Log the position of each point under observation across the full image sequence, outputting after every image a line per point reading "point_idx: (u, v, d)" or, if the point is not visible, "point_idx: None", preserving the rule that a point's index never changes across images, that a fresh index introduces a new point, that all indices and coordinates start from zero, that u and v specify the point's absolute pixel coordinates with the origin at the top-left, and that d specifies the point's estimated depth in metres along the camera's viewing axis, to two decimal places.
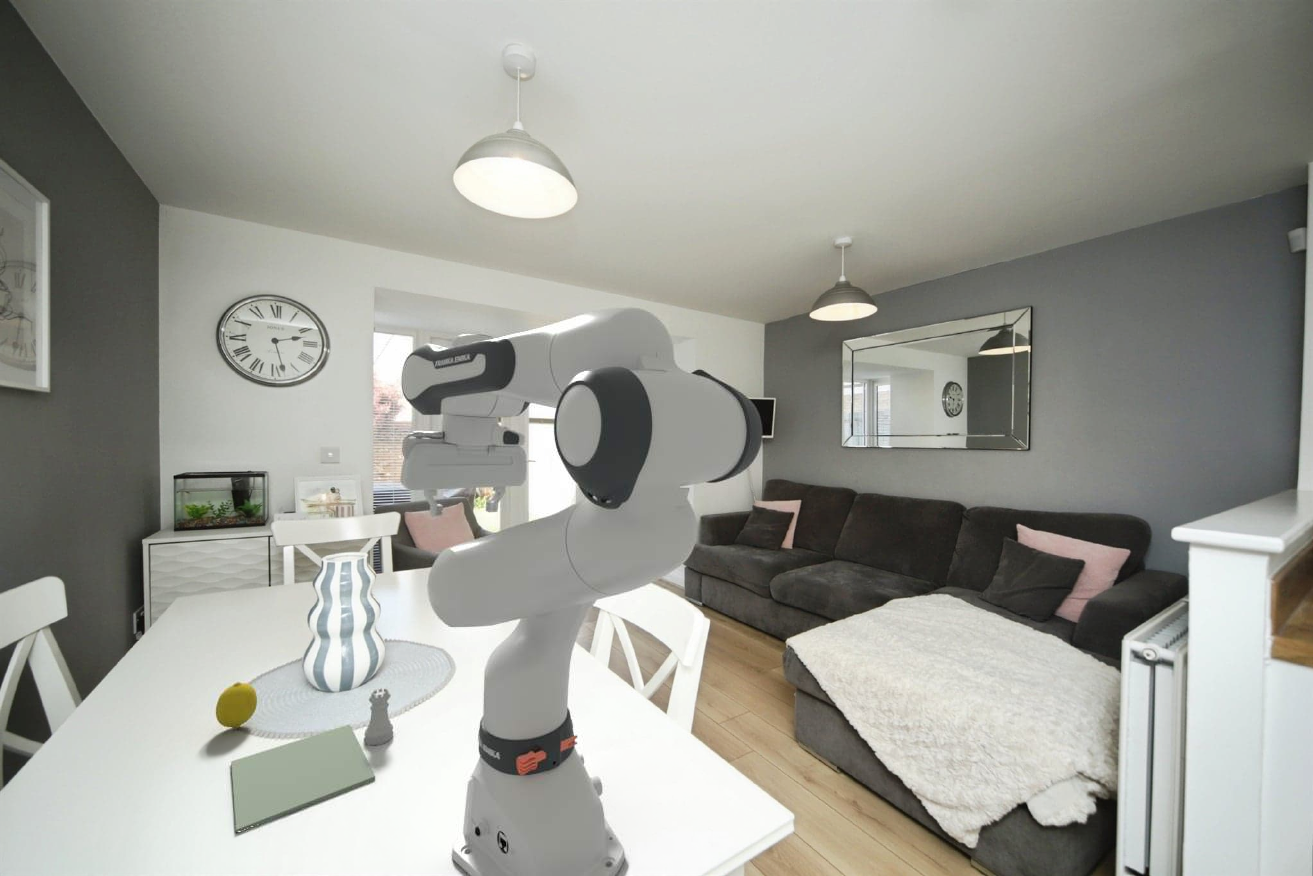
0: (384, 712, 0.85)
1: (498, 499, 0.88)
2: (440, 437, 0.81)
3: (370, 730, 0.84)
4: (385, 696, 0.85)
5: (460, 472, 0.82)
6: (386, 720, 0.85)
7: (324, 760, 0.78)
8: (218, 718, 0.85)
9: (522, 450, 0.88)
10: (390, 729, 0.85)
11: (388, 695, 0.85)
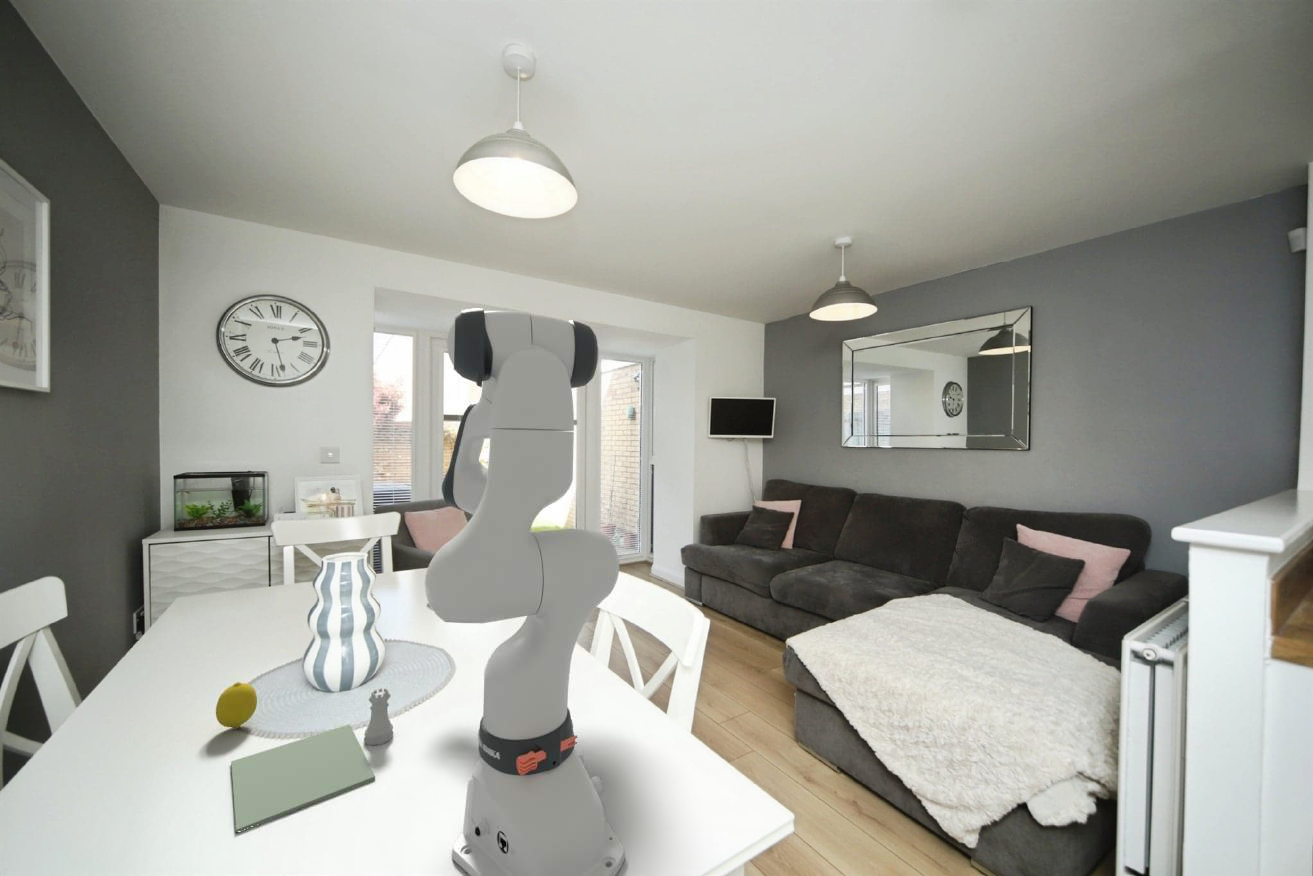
0: (384, 712, 0.85)
1: None
2: None
3: (370, 730, 0.84)
4: (385, 696, 0.85)
5: None
6: (386, 720, 0.85)
7: (324, 760, 0.78)
8: (218, 718, 0.85)
9: None
10: (390, 729, 0.85)
11: (388, 695, 0.85)
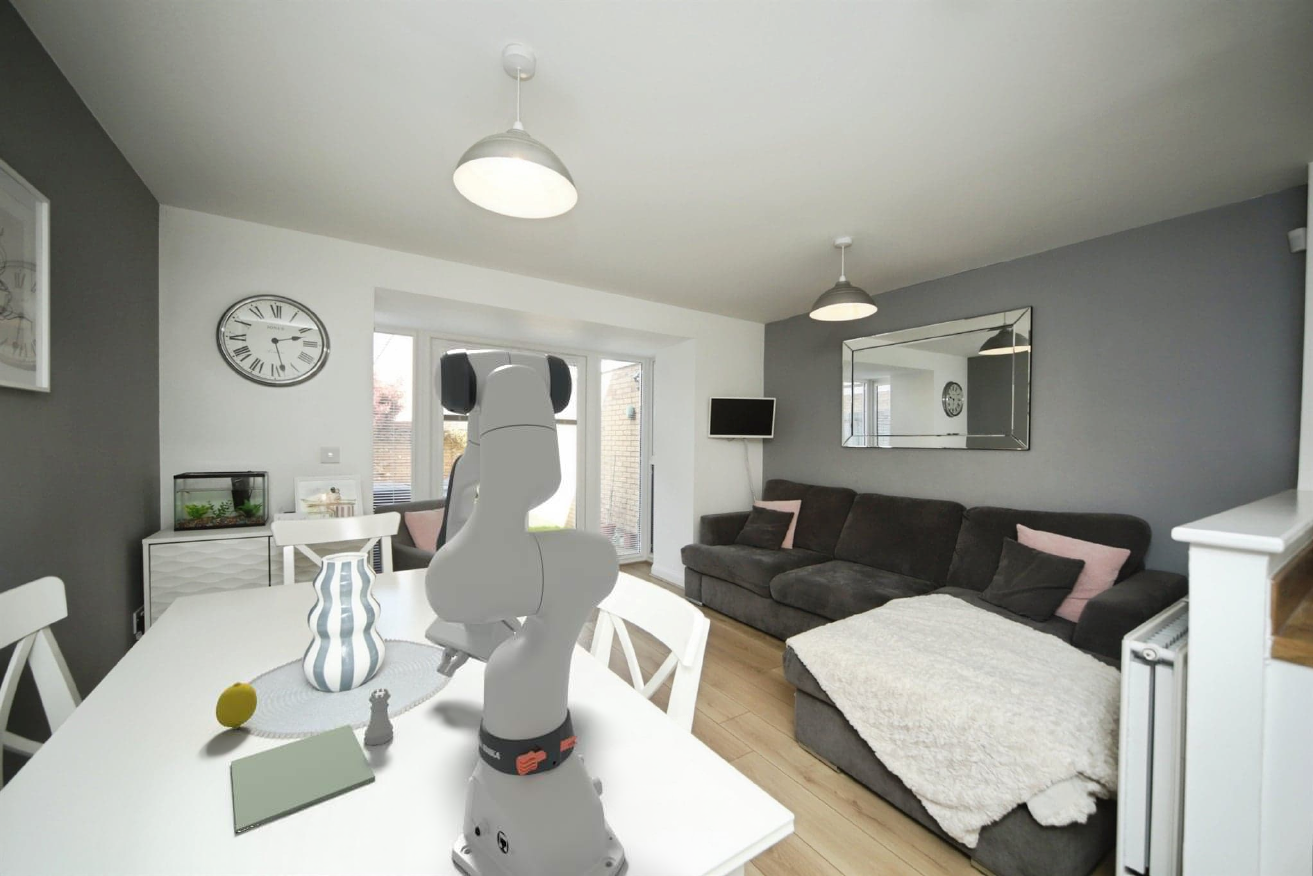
0: (384, 712, 0.85)
1: (452, 662, 0.96)
2: None
3: (370, 730, 0.84)
4: (385, 696, 0.85)
5: (455, 632, 1.00)
6: (386, 720, 0.85)
7: (324, 760, 0.78)
8: (218, 718, 0.85)
9: (500, 623, 0.97)
10: (390, 729, 0.85)
11: (388, 695, 0.85)
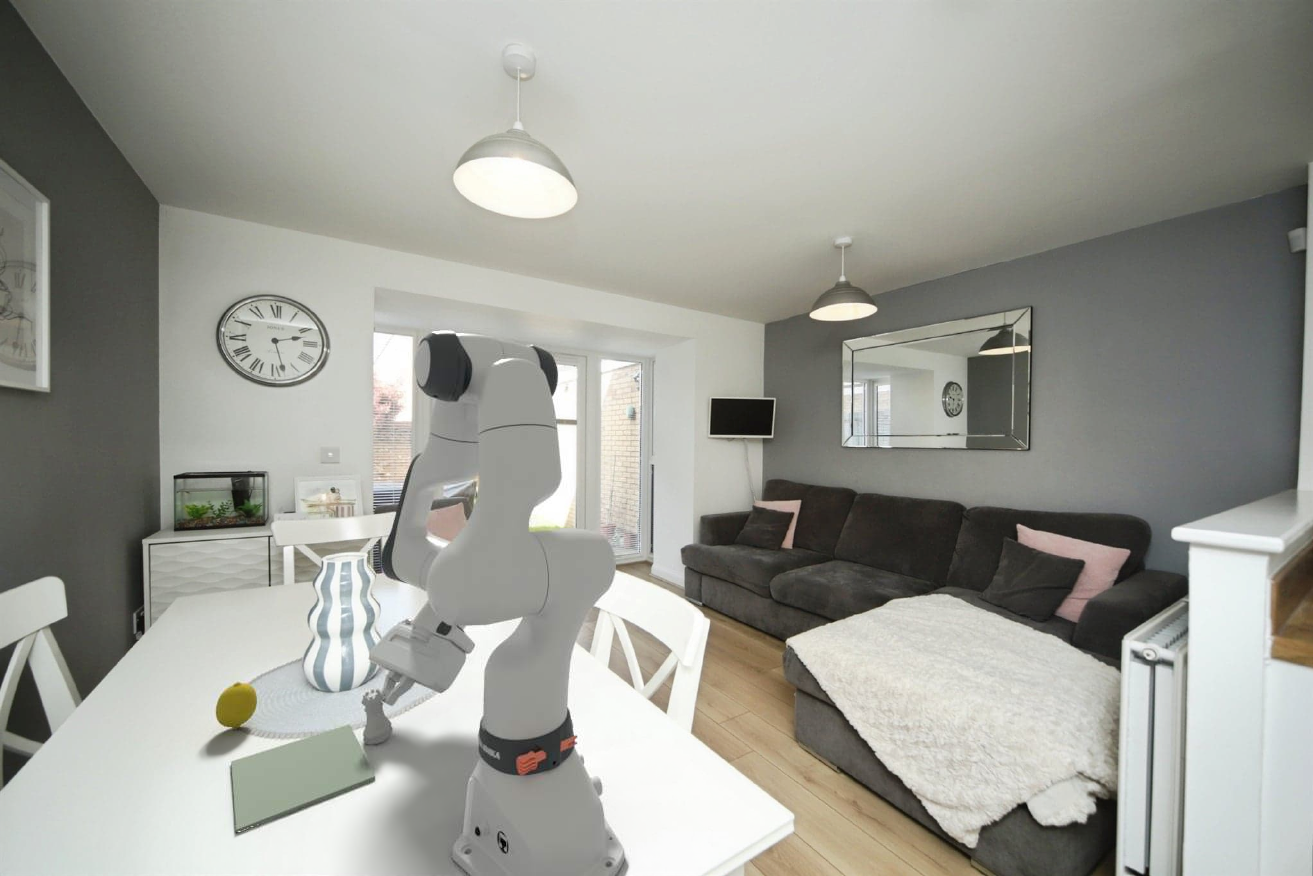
0: (379, 712, 0.84)
1: (394, 688, 0.86)
2: None
3: (368, 731, 0.83)
4: (377, 697, 0.84)
5: (400, 654, 0.90)
6: (383, 719, 0.85)
7: (324, 760, 0.78)
8: (218, 718, 0.85)
9: (448, 645, 0.87)
10: (388, 727, 0.85)
11: (381, 695, 0.84)
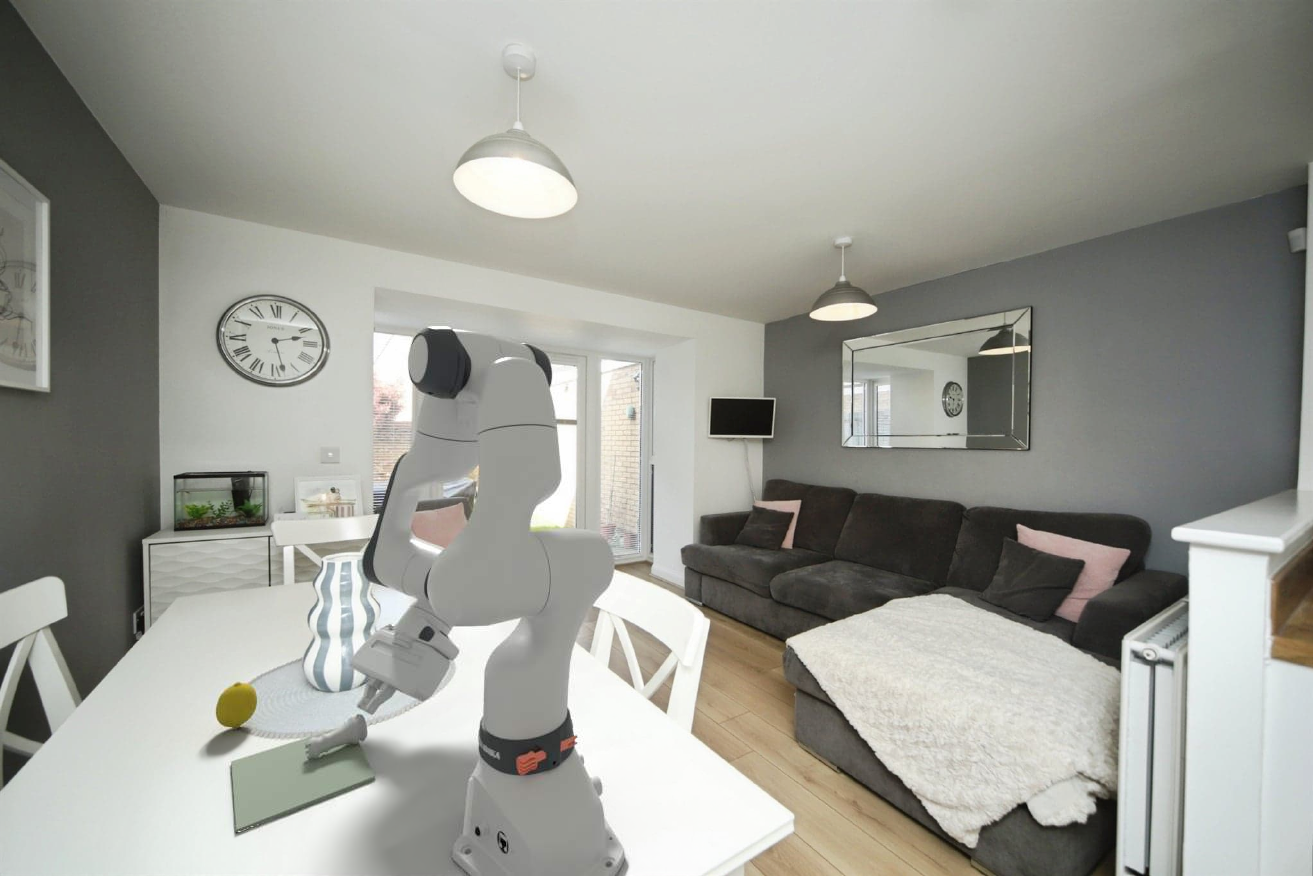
0: (332, 738, 0.80)
1: (375, 697, 0.83)
2: None
3: None
4: (312, 747, 0.78)
5: (382, 661, 0.87)
6: (342, 732, 0.81)
7: (324, 760, 0.78)
8: (218, 718, 0.85)
9: (431, 651, 0.84)
10: (353, 724, 0.82)
11: (312, 742, 0.78)
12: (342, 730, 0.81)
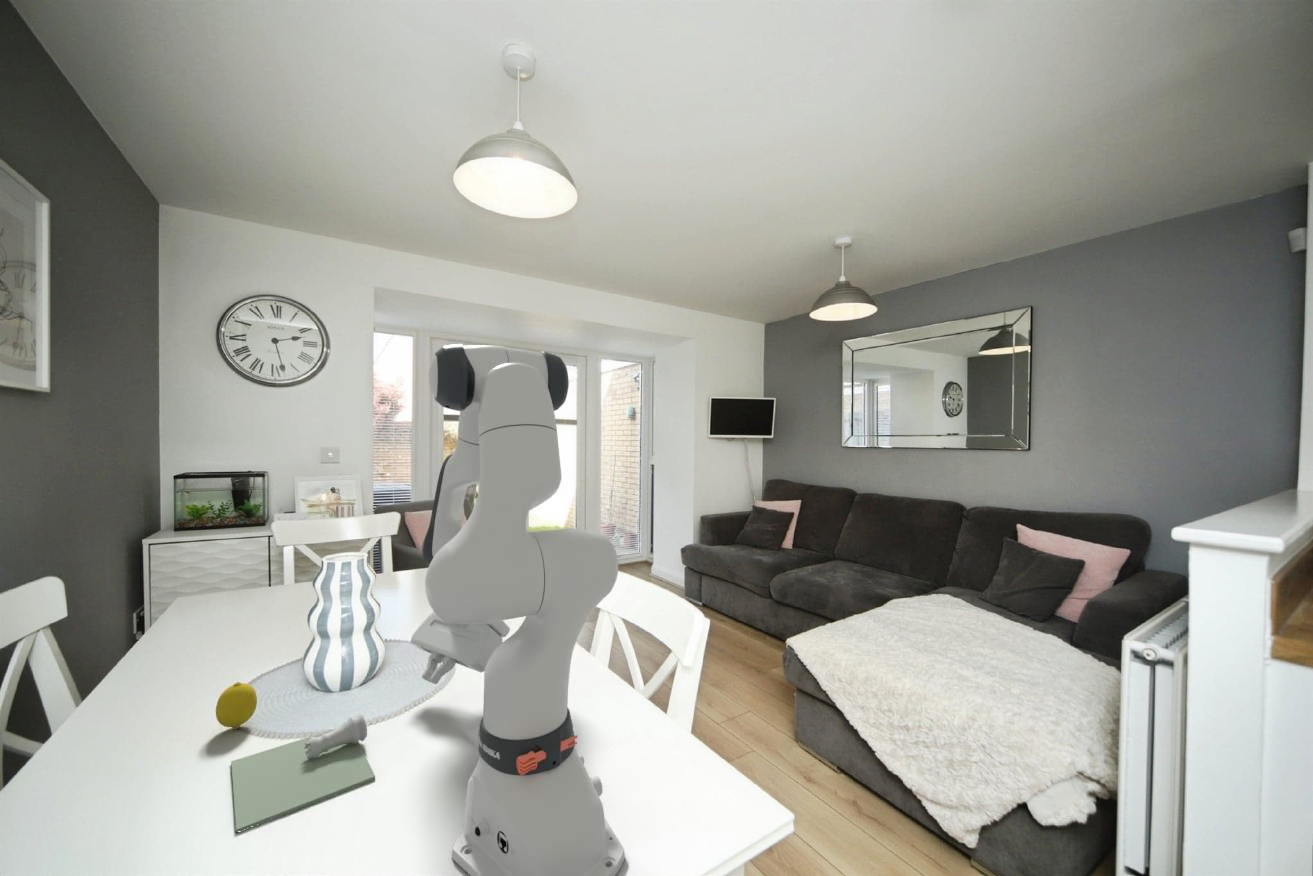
0: (332, 737, 0.80)
1: (438, 668, 0.94)
2: None
3: (350, 742, 0.82)
4: (312, 746, 0.78)
5: (441, 637, 0.98)
6: (342, 730, 0.81)
7: (324, 760, 0.78)
8: (218, 718, 0.85)
9: (487, 628, 0.94)
10: (353, 722, 0.82)
11: (312, 741, 0.78)
12: (341, 729, 0.81)
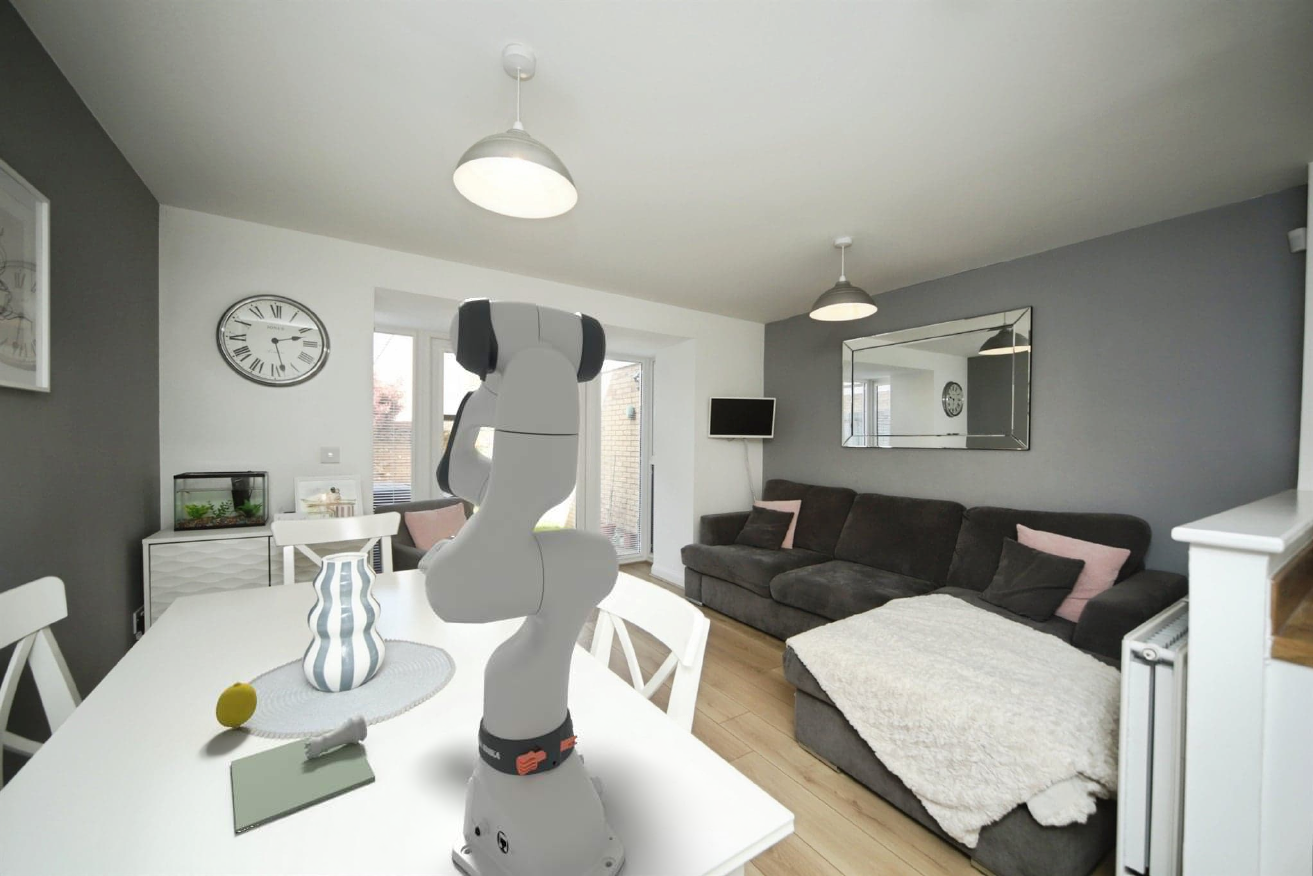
0: (332, 737, 0.80)
1: None
2: None
3: (350, 742, 0.82)
4: (312, 746, 0.78)
5: None
6: (342, 730, 0.81)
7: (324, 760, 0.78)
8: (218, 718, 0.85)
9: None
10: (353, 722, 0.82)
11: (312, 741, 0.78)
12: (341, 729, 0.81)
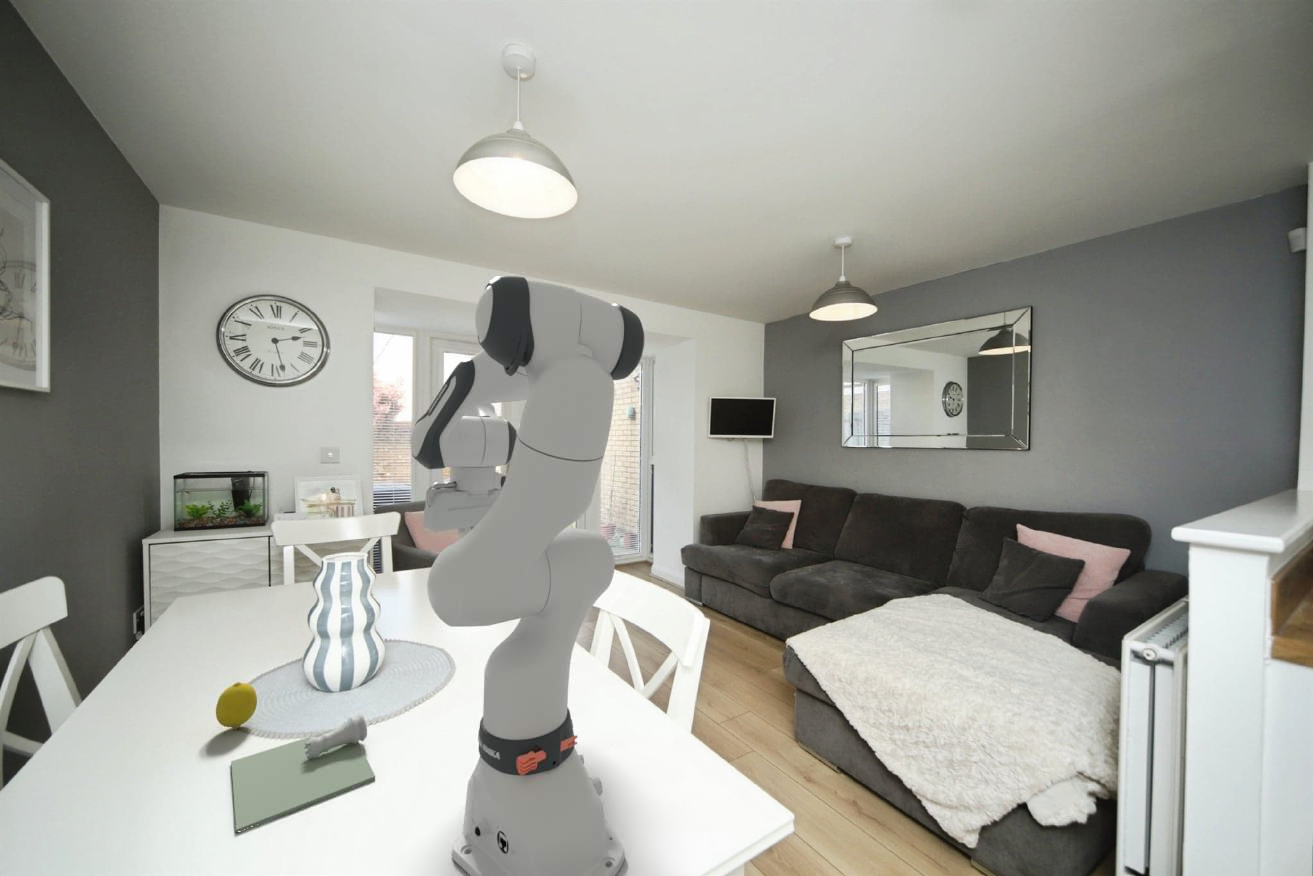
0: (332, 737, 0.80)
1: None
2: (453, 486, 0.98)
3: (350, 742, 0.82)
4: (312, 746, 0.78)
5: (470, 514, 1.00)
6: (342, 730, 0.81)
7: (324, 760, 0.78)
8: (218, 718, 0.85)
9: None
10: (353, 722, 0.82)
11: (312, 741, 0.78)
12: (341, 729, 0.81)
